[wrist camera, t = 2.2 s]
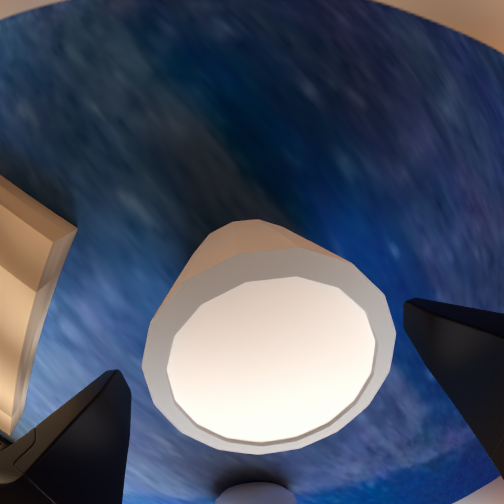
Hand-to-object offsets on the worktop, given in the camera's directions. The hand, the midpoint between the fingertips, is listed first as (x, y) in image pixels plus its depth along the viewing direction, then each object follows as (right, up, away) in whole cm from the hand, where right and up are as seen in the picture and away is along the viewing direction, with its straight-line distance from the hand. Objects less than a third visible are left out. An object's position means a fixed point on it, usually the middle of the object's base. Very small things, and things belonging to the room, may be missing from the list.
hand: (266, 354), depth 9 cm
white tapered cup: (0, +2, +6) cm, 6 cm away
